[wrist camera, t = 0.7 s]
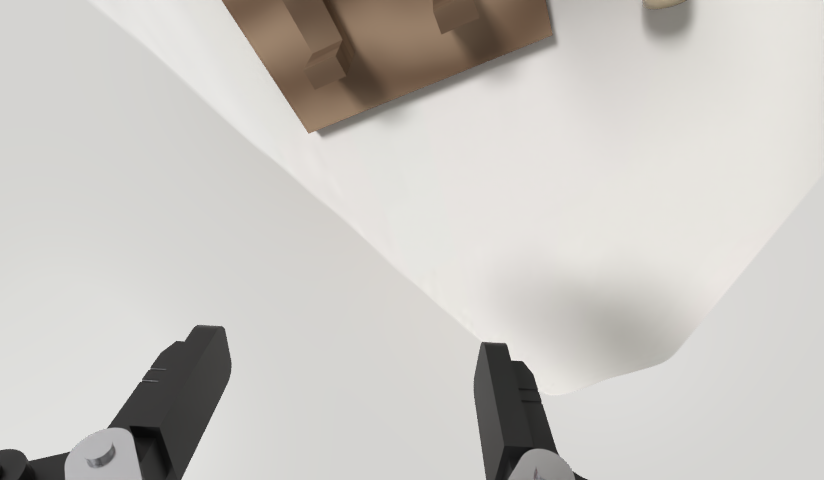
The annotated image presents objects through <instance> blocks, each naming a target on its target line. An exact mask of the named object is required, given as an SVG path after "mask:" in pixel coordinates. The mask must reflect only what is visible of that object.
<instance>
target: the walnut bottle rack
mask: <svg viewBox="0 0 824 480" xmlns="http://www.w3.org/2000/svg"><path fill="white" fill-rule="evenodd" d="M222 1H223V3H224V5H225V6H226V8H227V9H228V11H229V12H230V14H231V15H232V17H233V18H234V20H235V21H236V23H237V24H238V26H239V27H240V29H241V31H242V32H243V34H244V35H245V37H246V38H247V40H248V41H249V43H250V44H251V46H252V47H253V49H254V50H255V52H256V54H257V55H258V57H259V58H260V60H261V61H262V63H263V64H264V66H265V67H266V69H267V70H268V72H269V73H270V75H271V77H272V78H273V80H274V81H275V83H276V84H277V86H278V87H279V89H280V90H281V92H282V93H283V95H284V96H285V98H286V100H287V101H288V103H289V104H290V106H291V107H292V109H293V110H294V112H295V113H296V115H297V116H298V118H299V119H300V121H301V122H302V124H303V126H304V127H305V129H306V130H307V132H308V133H311V132H314V131H316V130H319V129H321V128H324V127H326V126H329V125H331V124H334V123H336V122H339V121H341V120H343V119H346V118H348V117H351V116H353V115H356V114H358V113H361V112H363V111H366V110H368V109H371V108H373V107H376V106H378V105H381V104H383V103H386V102H388V101H391V100H393V99H395V98H398V97H400V96H403V95H405V94H408V93H410V92H413V91H415V90H418V89H420V88H423V87H425V86H428V85H430V84H433V83H435V82H438V81H440V80H442V79H445V78H447V77H450V76H452V75H455V74H457V73H460V72H462V71H465V70H467V69H470V68H472V67H475V66H477V65H480V64H482V63H485V62H487V61H490V60H492V59H494V58H497V57H499V56H502V55H504V54H507V53H509V52H512V51H514V50H517V49H519V48H522V47H524V46H527V45H529V44H532V43H534V42H537V41H539V40H541V39H544V38H546V37H549V36H551V35H552V30H551V25H550V20H549V15H548V10H547V5H546V0H222Z"/></svg>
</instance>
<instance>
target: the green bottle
mask: <svg viewBox="0 0 824 480" xmlns="http://www.w3.org/2000/svg"><path fill="white" fill-rule="evenodd" d="M685 1H687V0H642V2H643V7H645V8H647V9H662V8H667V7H671V6H674V5H677V4H680V3H682V2H685Z"/></svg>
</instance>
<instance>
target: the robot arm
mask: <svg viewBox="0 0 824 480" xmlns="http://www.w3.org/2000/svg"><path fill="white" fill-rule="evenodd" d="M230 374H231V358H230V353H229V348H228V342H227V337H226V333H225V329H224V328H223V327H222V326H206V325H197V326H195V327H194V328H193V330H192V331H191V333H190V334H189V336H188V337H187V339H186V340H185V342H181V341H176V342H175V343H173V344H172V345H171V346H169V347H168V348H167V349H165V350H164V351H163V352H162V353H160V355H159V356H158V358H157V359H156V360H155V362H154V363H153V365H152V366H151V369H150V370H148V372H147V373H146V375H145V376H144V377H143V379H142V382H140V383H139V384H138V386H137V387H136V389H135V390H134V391H133V393H132V394H131V396H130V397H129V399H128V400H127V402H126V403H125V404H124V406H123V407H122V408H121V410H120V411H119V413H118V414H117V416H116V417H115V418H114V420H113V421H112V422H111V424H110V425H109V427H108V428H107V429H103V430H100V431H98V432H95V433H93V434H91V435H89V436H88V437H86V438H85V439H83V440H82V441H81V442H80V443H78V444H77V445H76V446H75V447H74V449H72V451H71V452H67V453H63V454H59V455H54V456H50V457H46V458H41V459H37V460H32V461H28V460H27V458H26V456H25V455H24V454H23V453H22V452H21V451H18V450H14V449H6V450H0V480H181V479H182V477H183V474H184V472H185V470H186V468H187V466H188V464H189V462H190V460H191V458H192V456H193V454H194V452H195V450H196V448H197V446H198V443H199V441H200V439H201V437H202V435H203V433H204V431H205V429H206V427H207V425H208V423H209V421H210V418H211V416H212V414H213V412H214V410H215V408H216V406H217V404H218V402H219V400H220V398H221V396H222V394H223V392H224V390H225V387H226V385H227V383H228V381H229V378H230ZM474 398H475V405H476V411H477V419H478V426H479V433H480V439H481V446H482V453H483V460H484V467H485V474H486V480H587V479H585V478H582V477H580V476H579V475H577V474H576V473H574V472H573V471H572V469H571V468H570V466H569V465H568V464H567V462H565V461H564V459H562V458H561V457H560V456H559V454H558V452H557V450H556V447H555V443H554V440H553V437H552V434H551V430H550V427H549V424H548V421H547V417H546V414H545V411H544V408H543V405H542V404H541V398H540V395H539V392H538V388H537V385H536V382H535V379H534V375H533V374H532V372H531V371H530V370H529V369H528V367H527V366H526V365H525V364H524V362H523V361H511V358H510V355H509V351H508V347H507V345H506V344H505V343H491V342H482V343H481V346H480V351H479V356H478V361H477V366H476V371H475V377H474Z"/></svg>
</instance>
